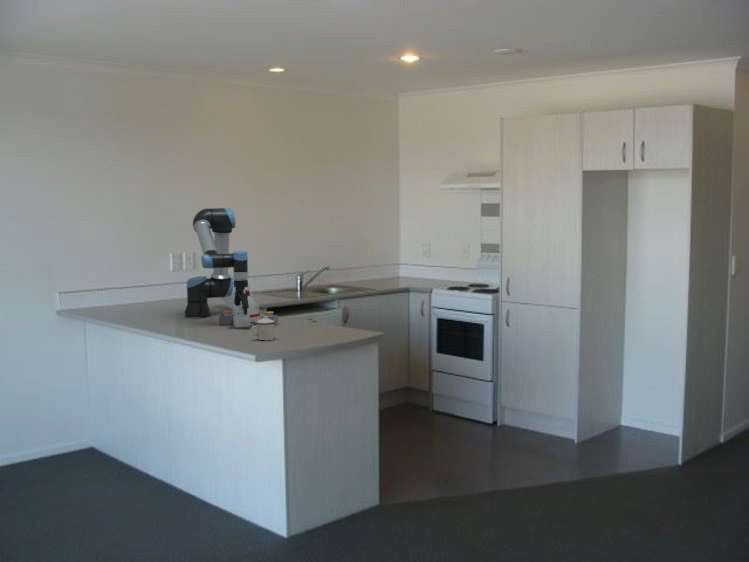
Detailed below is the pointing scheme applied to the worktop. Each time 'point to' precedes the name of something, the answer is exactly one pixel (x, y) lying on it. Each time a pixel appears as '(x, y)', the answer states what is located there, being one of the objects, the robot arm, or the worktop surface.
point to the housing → (229, 321)
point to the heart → (233, 294)
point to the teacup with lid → (265, 329)
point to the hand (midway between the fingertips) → (241, 319)
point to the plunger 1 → (227, 313)
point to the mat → (242, 327)
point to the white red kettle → (252, 306)
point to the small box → (240, 318)
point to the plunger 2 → (269, 314)
